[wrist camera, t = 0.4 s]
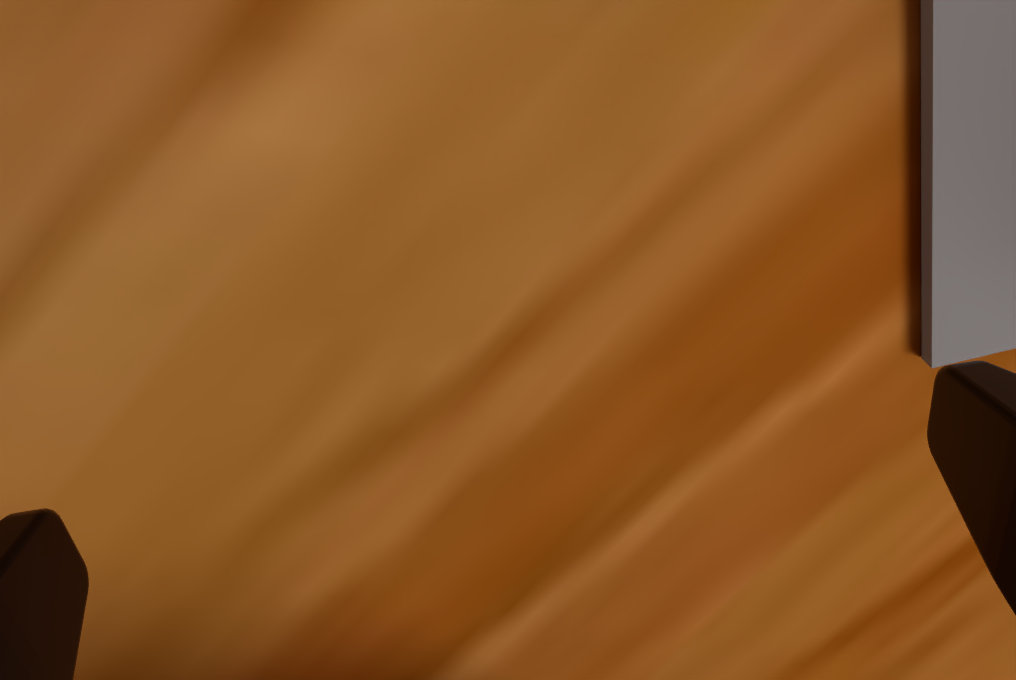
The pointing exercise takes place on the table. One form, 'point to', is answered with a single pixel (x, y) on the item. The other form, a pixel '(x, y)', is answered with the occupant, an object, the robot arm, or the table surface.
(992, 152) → the mat
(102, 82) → the table surface
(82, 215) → the table surface
